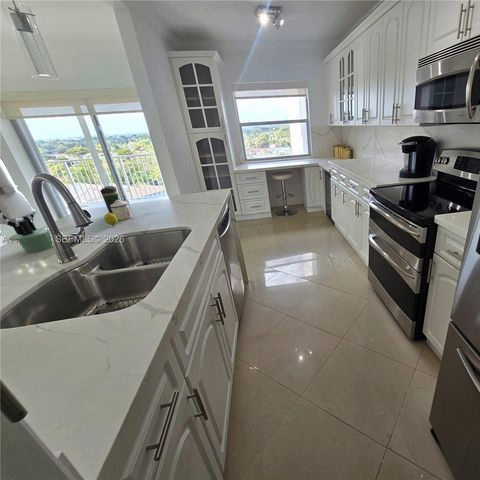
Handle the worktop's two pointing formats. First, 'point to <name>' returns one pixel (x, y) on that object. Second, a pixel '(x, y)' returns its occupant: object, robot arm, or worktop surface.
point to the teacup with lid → (121, 210)
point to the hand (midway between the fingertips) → (27, 232)
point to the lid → (27, 231)
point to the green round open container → (37, 243)
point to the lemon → (110, 219)
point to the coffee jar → (110, 196)
